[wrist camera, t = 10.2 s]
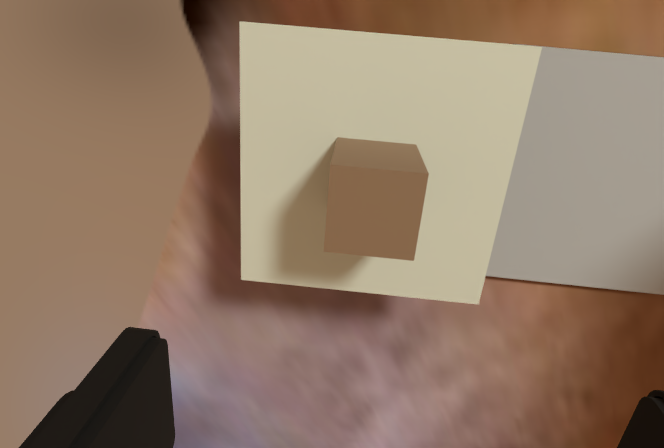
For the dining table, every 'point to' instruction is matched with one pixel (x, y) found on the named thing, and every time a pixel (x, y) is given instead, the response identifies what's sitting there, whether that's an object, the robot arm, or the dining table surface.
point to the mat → (588, 176)
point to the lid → (376, 158)
